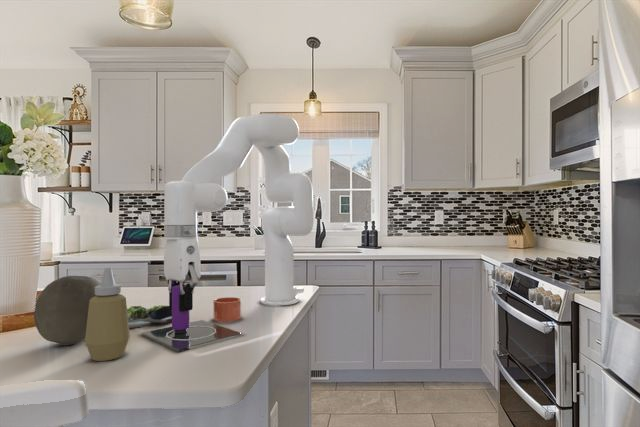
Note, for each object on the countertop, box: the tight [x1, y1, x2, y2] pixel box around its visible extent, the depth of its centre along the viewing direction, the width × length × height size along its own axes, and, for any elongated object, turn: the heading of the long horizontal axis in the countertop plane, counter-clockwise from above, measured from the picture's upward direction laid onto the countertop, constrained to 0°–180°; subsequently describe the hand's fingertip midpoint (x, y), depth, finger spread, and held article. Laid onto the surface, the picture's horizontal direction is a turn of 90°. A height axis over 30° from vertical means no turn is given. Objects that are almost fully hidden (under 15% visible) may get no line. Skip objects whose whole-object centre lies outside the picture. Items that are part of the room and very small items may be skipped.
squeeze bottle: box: [84, 266, 131, 362], centre depth 81 cm, size 8×8×18 cm
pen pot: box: [212, 296, 242, 323], centre depth 110 cm, size 7×7×6 cm
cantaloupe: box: [33, 275, 101, 346], centre depth 90 cm, size 14×14×15 cm
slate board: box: [141, 319, 242, 353], centre depth 95 cm, size 16×18×1 cm
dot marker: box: [171, 284, 190, 334], centre depth 96 cm, size 4×4×11 cm
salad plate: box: [127, 304, 172, 329], centre depth 108 cm, size 19×18×5 cm
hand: (180, 308), depth 96 cm, fingers closed on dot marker, 4 cm apart
